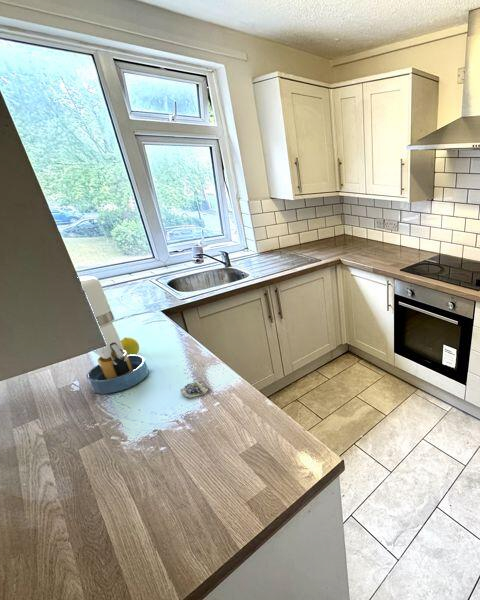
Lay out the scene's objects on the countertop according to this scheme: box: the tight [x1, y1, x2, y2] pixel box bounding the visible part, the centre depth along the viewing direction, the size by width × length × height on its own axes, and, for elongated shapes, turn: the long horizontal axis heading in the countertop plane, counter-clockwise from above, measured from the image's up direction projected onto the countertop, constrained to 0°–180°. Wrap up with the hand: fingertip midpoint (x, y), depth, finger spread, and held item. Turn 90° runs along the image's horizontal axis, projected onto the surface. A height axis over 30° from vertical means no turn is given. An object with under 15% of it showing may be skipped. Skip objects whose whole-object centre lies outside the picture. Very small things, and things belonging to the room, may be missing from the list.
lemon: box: [120, 336, 140, 355], centre depth 114 cm, size 6×6×8 cm
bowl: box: [86, 354, 150, 395], centre depth 103 cm, size 14×14×5 cm
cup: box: [97, 351, 133, 380], centre depth 102 cm, size 7×7×8 cm
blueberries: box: [179, 381, 209, 399], centre depth 99 cm, size 7×8×2 cm
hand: (117, 369), depth 102 cm, fingers closed on cup, 6 cm apart
